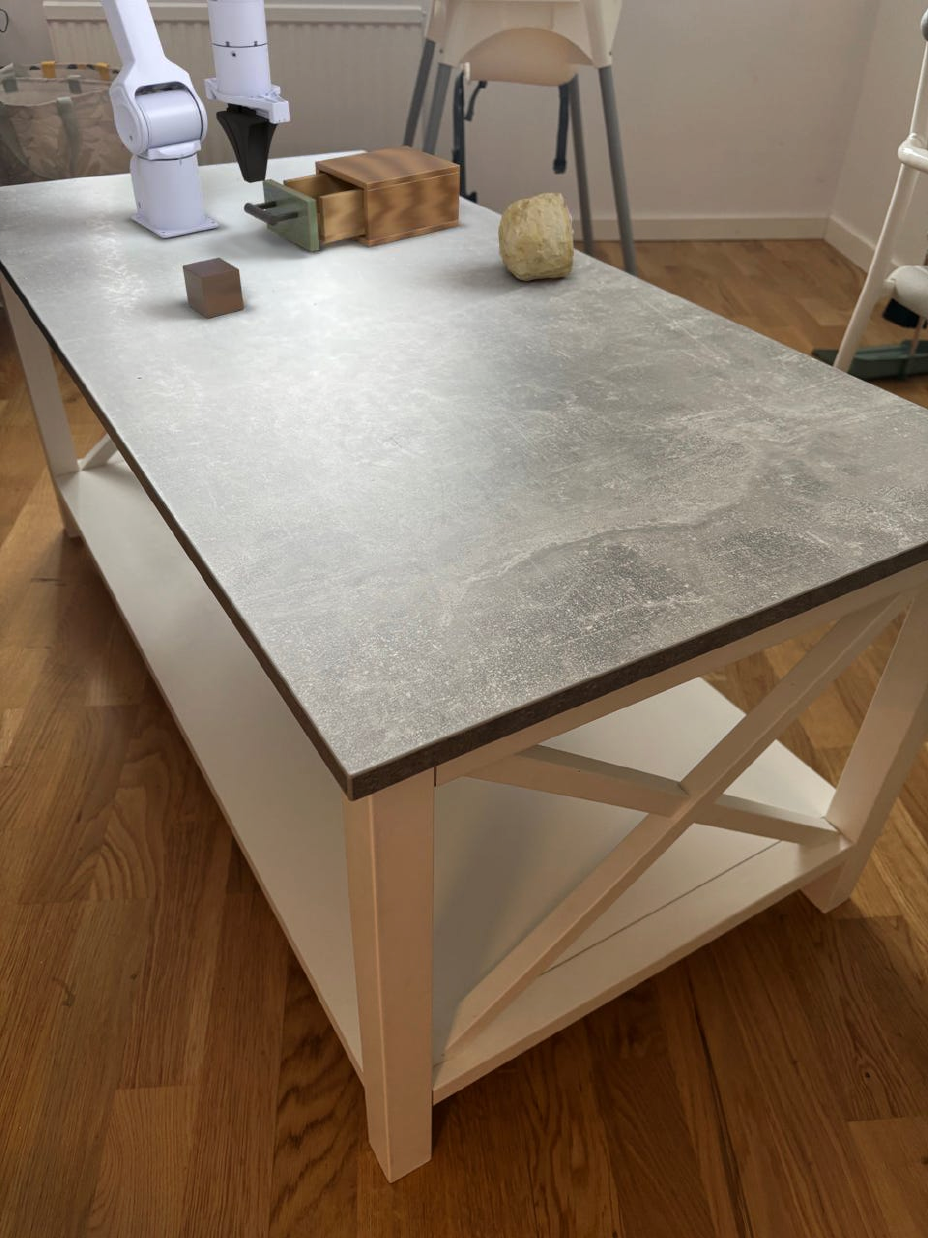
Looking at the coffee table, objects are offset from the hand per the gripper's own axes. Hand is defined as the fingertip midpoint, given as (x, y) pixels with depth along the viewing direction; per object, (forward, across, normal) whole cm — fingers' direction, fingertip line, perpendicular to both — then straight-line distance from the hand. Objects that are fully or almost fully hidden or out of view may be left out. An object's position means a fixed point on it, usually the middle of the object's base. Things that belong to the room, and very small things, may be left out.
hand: (254, 180), depth 109 cm
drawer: (+9, +3, -10) cm, 14 cm away
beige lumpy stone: (+10, -22, -24) cm, 34 cm away
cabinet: (+10, +3, -21) cm, 23 cm away
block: (+10, -9, +11) cm, 17 cm away
